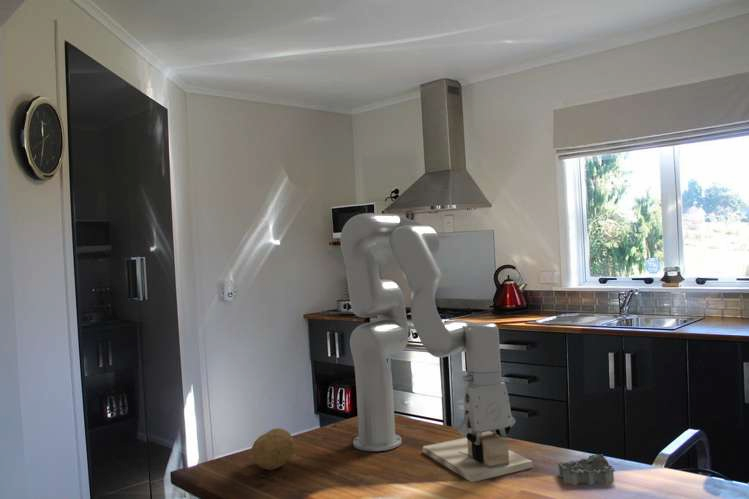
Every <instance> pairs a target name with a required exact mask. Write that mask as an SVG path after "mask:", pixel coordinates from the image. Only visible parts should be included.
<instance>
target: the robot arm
mask: <svg viewBox="0 0 749 499" xmlns="http://www.w3.org/2000/svg"><path fill="white" fill-rule="evenodd" d="M339 241H340V249H341V254H342V257H343V260H344V261H343V262H344V266H345V271H346V272H345V273H346V280H347V288H348V296H349V301H350V302H349V303H350V307H351V311H352V312H353V313H354V316H357V317H359V318H373V317H377V320H374V321H371V322H370V321H369V322H365V323H362V324H360V325H359V326H357V327H355V329H353V331H352V332H351V334H350V337H349V346H350V347H349V348H350V351H351V352H350V353H351V356H352V360H353V365H354V375H355V387H356V388H355V389H356V408H357V426H358V436H356V437H355V438H353V440H352V443H353V447H354V448H355V449H357V450H360V451H365V452H382V451H383V452H385V451H389V450H394V449H395V448H398V447H399V446H400V445H401V444H402V437H401V436H400V435H399V434H396V425H395V424H396V422H395V409H394V408H395V407H394V406H395V405H394V388H393V387H394V385H393V374H392V370H391V368H390V365H389V362H388V361H387V358H386V357H388V356H391V355H392V356H393V355H395V354H398V353H400V352H402V351H403V350H404V349H405V348H406V347H407V345H408V344H409V343H408V342H409V325H408V318H407V311H406V304H405V299H404V298H405V297H404V294H403V292H402V290H401V288H400V286H399V285H398V284H397V283H396V281H393V280H392V279H386V278H383V279H381V277H380V274H379V273H380V272H379V265H378V261H377V259H376V257H375V255H374V253H373V251H371V247H382V246H383V247H385V246H389V247H390V249H391V251H392V254H393V255H394V258H395V260H396V262H397V264H398V266H399V269H400V271H401V272H402V274H403V277H404V278H405V281H406V283H407V284H408V287H409V290H410V293H411V294H410V316H411V322H412V324H413V327H414V330H415V332H416V334H417V336H418V339H419V340H420V342H421V344H422V346H423V347H424V349H425V350H426V351H427V353H429V354H430V355H431V356H433V357H435V358H446V357H449V356H452V355H456V354H460V353H463V352H465V354H466V357H465V358H466V375H463V377H462V378H463V379H462V380H463V381H464V382H467V384H465V387H464V388H465V389H464V397H463V420H462V421H461V423H460V425H459V427H458V429H457V432H458V433H460V434H461V435H462V436H463V437H464V438H467V439H468V440H469V441H470V442H471V443H472V456H473V458H474V460H476V461H478V462H480V463H482V462H483V447H482V445H481V444H480V441H481V435H482V432H487V431H491V432H493V431H494V433H495V434H497V435H499V436H501V437H504V438H506V439H508V434H509V432H510V430H511V428H513V426H514V425H515V424H516V421H517V420H516V418H514V416H513V415H512V412H511V403H510V398H509V397H510V396H509V393H508V389H507V386H506V383H505V382H504V381H503V380H502V379H503V378H502V366H501V348H500V347H501V346H500V332H499V327H498V326H497V324H496V323H493V322H479V321H478V322H473V321H468V320H463V319H456V320H452V321H446V322H443V320H442V318H441V316H440V314H439V312H438V309H437V305H436V292H437V289H438V288H439V286H440V285H441V284H442V282H443V279H444V274H443V273H442V271H441V269H440V267H439V266H438V263H437V262H436V258H434V256H435V255H436V253H438V250H439V248H440V238H439V235H438V233H437V232H436V230H435V229H434V228H433V227H431V226H429V225H427V224H424V223H422V222H419V221H415V220H413V219H409V218H407V217H405V216H401V215H398V214H393V213H377V212H376V213H373V212H369V213H366V212H365V213H360V214H356V215H354V216H352V217H351V218H349V219H348V220H347V221H346V222H345V224H344V226H343V227H342V230H341V233H340V240H339ZM468 429H470V431H468Z"/></svg>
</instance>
